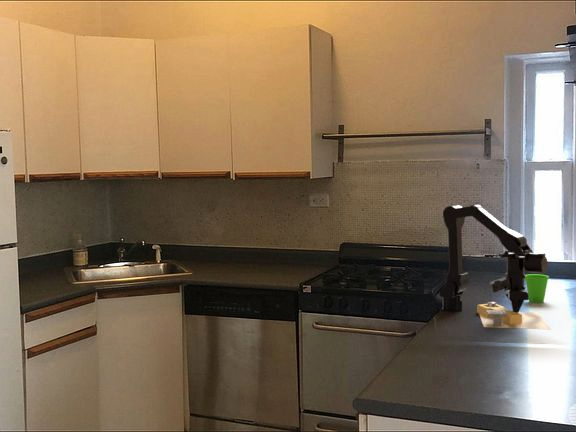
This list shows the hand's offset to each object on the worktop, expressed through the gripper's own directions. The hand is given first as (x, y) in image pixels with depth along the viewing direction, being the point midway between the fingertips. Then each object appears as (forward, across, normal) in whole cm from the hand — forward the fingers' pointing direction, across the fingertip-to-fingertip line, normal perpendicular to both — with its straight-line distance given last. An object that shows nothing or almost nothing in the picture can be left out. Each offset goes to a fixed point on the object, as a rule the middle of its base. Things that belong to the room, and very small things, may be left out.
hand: (515, 315), depth 241 cm
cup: (+2, -32, +12) cm, 34 cm away
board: (+2, +1, -1) cm, 3 cm away
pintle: (+1, -8, -7) cm, 11 cm away
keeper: (+1, +8, -7) cm, 11 cm away
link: (+1, -1, -5) cm, 5 cm away
